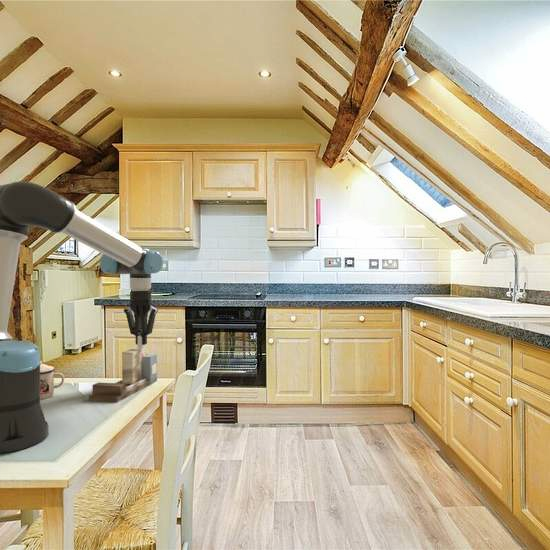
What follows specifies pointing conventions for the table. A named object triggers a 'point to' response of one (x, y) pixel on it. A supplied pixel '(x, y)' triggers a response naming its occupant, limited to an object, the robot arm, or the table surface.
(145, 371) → the cabinet
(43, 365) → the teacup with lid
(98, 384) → the rail bed
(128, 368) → the carriage
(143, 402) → the table surface
